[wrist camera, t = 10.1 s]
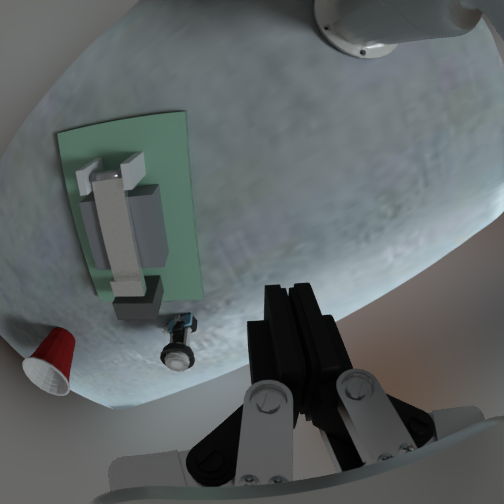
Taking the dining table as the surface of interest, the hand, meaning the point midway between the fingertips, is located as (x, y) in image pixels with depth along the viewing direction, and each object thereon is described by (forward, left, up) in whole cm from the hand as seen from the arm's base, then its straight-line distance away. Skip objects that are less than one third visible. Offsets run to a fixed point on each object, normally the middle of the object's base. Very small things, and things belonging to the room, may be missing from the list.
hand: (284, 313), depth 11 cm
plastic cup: (+33, -39, -29) cm, 59 cm away
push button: (+28, -12, -29) cm, 42 cm away
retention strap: (+8, -16, -23) cm, 29 cm away
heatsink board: (+8, -16, -29) cm, 34 cm away
